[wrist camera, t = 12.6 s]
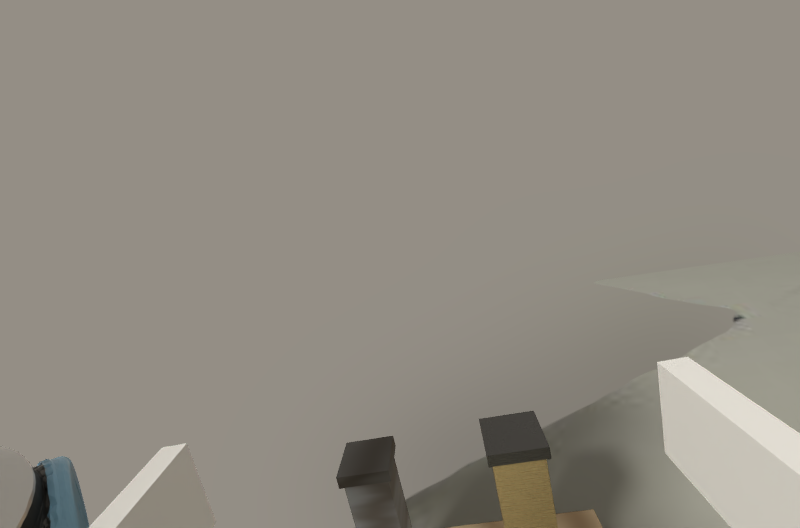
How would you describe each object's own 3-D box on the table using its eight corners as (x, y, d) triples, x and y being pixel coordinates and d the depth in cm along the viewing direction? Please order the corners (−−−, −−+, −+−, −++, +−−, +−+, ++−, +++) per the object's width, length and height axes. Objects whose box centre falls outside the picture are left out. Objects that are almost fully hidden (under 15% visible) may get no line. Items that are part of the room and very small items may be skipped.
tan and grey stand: (363, 693, 31) (308, 521, 28) (380, 551, 43) (343, 418, 40) (663, 669, 29) (642, 477, 26) (596, 525, 41) (575, 381, 37)
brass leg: (516, 603, 33) (486, 456, 30) (505, 551, 38) (479, 419, 35) (573, 597, 33) (549, 447, 30) (556, 545, 37) (533, 410, 34)
